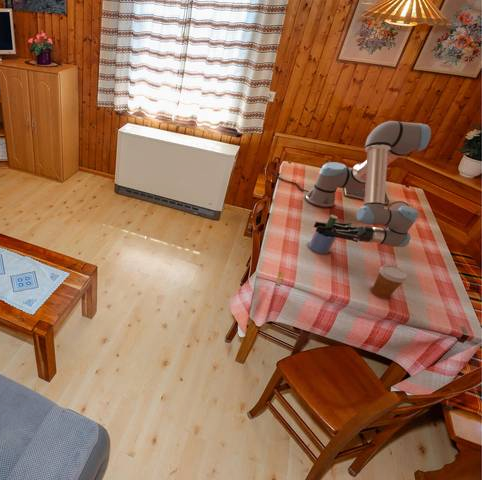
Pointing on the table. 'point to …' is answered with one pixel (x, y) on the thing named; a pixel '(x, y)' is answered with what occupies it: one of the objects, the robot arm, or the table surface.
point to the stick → (330, 223)
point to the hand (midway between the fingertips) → (316, 226)
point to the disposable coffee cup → (388, 280)
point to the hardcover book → (360, 194)
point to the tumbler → (321, 242)
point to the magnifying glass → (397, 206)
